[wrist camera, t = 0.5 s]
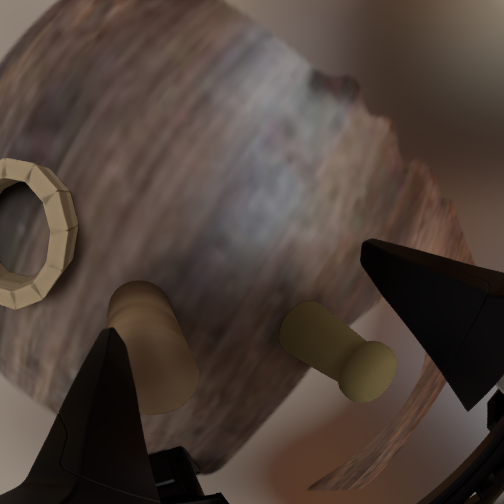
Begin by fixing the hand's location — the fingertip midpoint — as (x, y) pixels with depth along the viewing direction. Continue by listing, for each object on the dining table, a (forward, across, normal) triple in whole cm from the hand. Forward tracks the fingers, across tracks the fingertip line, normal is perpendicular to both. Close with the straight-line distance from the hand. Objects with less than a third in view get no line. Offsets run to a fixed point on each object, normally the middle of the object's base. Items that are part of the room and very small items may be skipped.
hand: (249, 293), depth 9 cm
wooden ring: (+12, +13, -1) cm, 18 cm away
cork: (+10, -7, +16) cm, 20 cm away
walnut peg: (+10, +6, +8) cm, 14 cm away
